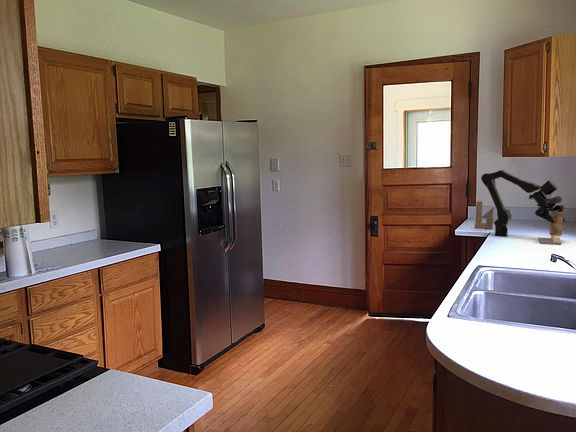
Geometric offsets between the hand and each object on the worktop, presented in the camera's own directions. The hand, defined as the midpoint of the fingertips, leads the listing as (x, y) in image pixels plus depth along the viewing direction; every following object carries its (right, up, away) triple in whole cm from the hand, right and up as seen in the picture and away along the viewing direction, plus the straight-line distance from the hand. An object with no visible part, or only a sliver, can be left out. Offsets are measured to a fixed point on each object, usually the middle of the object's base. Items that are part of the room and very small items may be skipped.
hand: (558, 222), depth 276 cm
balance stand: (-3, -11, +4) cm, 12 cm away
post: (-1, -7, +2) cm, 8 cm away
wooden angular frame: (-21, -5, +53) cm, 57 cm away
